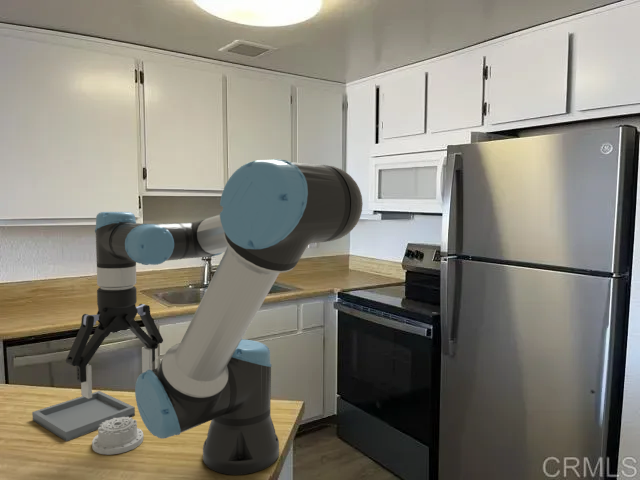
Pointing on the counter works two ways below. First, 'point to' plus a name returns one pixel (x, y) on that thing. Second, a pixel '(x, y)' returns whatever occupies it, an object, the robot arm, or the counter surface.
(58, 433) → the dock tray
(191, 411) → the robot arm
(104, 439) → the mechanical component
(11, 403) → the counter surface
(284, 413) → the counter surface
